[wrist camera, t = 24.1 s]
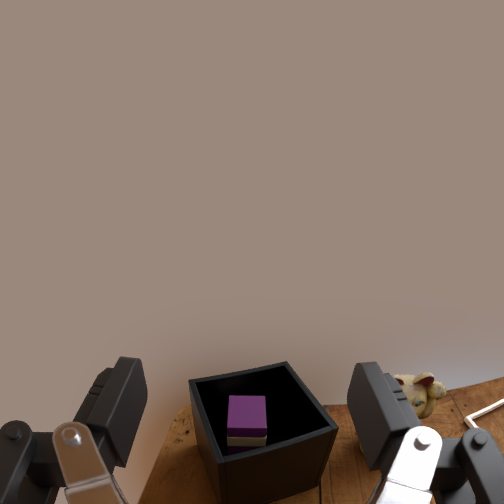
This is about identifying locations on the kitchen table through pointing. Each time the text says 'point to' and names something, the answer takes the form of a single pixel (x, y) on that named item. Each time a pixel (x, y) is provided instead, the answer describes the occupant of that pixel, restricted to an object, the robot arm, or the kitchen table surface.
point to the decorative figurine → (420, 392)
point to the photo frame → (481, 413)
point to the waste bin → (277, 435)
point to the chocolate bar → (246, 423)
